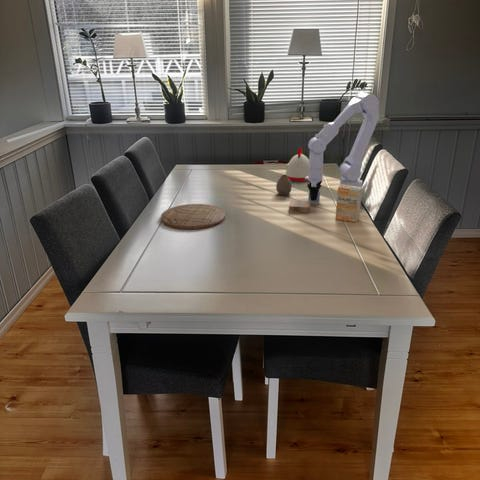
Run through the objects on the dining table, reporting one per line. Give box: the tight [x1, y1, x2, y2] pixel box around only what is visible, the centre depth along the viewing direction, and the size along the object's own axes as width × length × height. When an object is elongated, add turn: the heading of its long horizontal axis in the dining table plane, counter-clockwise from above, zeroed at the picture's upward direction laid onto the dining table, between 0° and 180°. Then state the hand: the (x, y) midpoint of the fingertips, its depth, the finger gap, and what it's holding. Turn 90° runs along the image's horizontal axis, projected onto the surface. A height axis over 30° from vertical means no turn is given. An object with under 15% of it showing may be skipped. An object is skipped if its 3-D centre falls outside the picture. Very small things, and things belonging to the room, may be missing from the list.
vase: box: [275, 174, 293, 196], centre depth 201 cm, size 7×7×9 cm
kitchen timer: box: [285, 147, 309, 182], centre depth 224 cm, size 14×14×15 cm
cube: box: [307, 189, 321, 205], centre depth 191 cm, size 4×4×4 cm
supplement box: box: [334, 184, 363, 223], centre depth 170 cm, size 8×5×13 cm, turn 62°
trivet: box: [160, 203, 226, 231], centre depth 176 cm, size 25×25×2 cm
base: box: [288, 199, 311, 214], centre depth 183 cm, size 8×8×3 cm
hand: (314, 198), depth 192 cm, fingers closed on cube, 4 cm apart
